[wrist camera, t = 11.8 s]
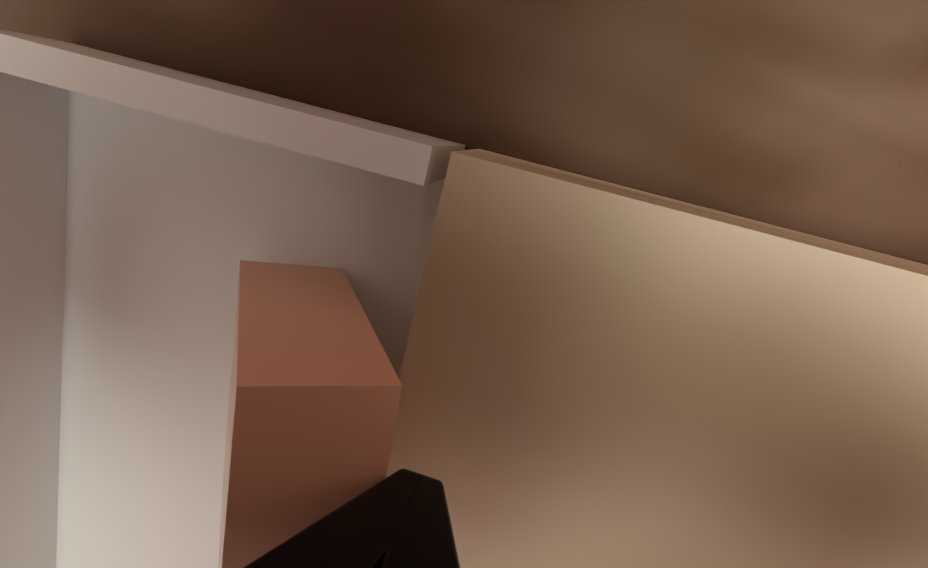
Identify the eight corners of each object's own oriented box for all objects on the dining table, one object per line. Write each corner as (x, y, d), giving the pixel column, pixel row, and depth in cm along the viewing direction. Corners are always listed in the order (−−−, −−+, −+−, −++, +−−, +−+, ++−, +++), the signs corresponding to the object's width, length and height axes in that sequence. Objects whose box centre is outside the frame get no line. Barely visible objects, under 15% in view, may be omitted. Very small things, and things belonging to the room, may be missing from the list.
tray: (311, 797, 17) (259, 933, 14) (51, 696, 18) (-47, 803, 15) (465, 144, 11) (431, 146, 8) (69, 42, 12) (-86, 11, 9)
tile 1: (351, 669, 8) (210, 699, 8) (315, 468, 13) (223, 474, 12) (402, 385, 7) (236, 386, 6) (342, 267, 11) (240, 260, 11)
